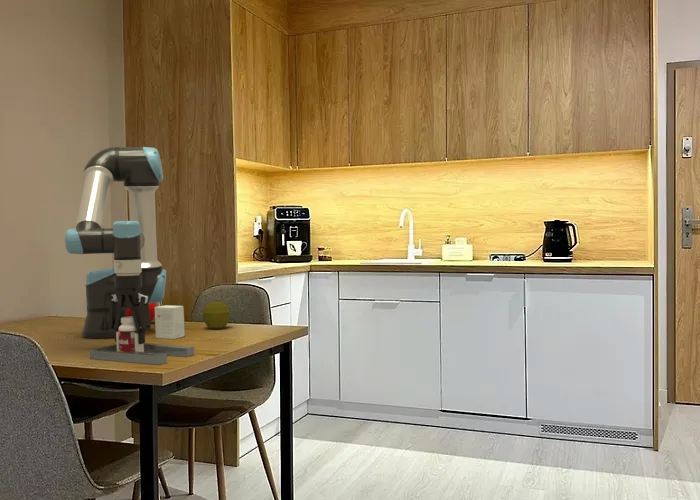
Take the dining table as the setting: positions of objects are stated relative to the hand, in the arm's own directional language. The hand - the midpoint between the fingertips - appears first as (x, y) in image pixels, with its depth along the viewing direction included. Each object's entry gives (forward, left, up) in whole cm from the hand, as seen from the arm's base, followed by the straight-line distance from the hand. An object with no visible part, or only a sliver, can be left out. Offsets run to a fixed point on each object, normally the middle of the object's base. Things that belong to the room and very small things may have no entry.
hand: (130, 354), depth 198 cm
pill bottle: (0, 0, -1) cm, 1 cm away
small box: (-12, +31, -1) cm, 33 cm away
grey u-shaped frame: (+4, 0, 0) cm, 4 cm away
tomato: (-46, +54, -1) cm, 71 cm away
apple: (-9, +53, -1) cm, 54 cm away
